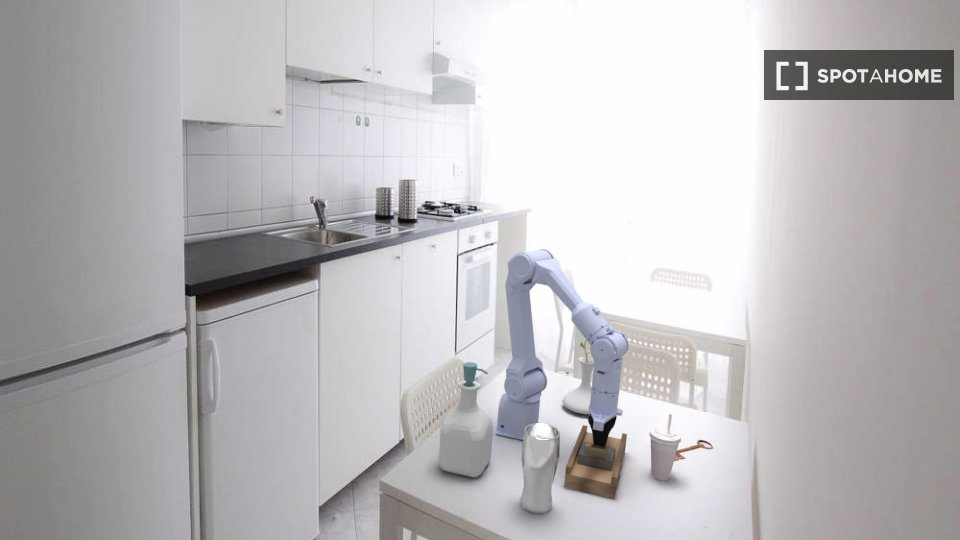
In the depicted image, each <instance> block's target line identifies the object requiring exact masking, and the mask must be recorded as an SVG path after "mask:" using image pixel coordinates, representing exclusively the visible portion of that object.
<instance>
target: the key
mask: <svg viewBox="0 0 960 540" xmlns="http://www.w3.org/2000/svg"><path fill="white" fill-rule="evenodd" d="M696 443H697V444H696V445H695V444H694V445H690V446H689V447H685V448H681V449H677V452H676V455H675V459H674V462H677V461H679V460H682V461H683V460H685V459H687V458H686V457H685V456H683V455H682V454H681V453H685V452H688V451H693V450H697V449H700V448H703V449H705V450H712V449H714V447H713V445H712V444H711V443H710V442H709V441H707V440H703V439H697V441H696ZM702 443H704V444H707V445H709V446H710V447H707V446H705V445H704V444H702Z"/></svg>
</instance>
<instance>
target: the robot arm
mask: <svg viewBox="0 0 960 540" xmlns="http://www.w3.org/2000/svg"><path fill="white" fill-rule="evenodd" d="M507 270H508V272H507V276H506V277H507V278H506V281H505V287H504V288H505V295H506V305H507V307H506V308H507V314H508V315H507V317H508V326H509V327H508V328H509V335H510V336H509V337H510V346H511V347H510V348H511V356H512V358H511V361H510V362H509V363H508V366H507V367H506V369H505V375H506V376H505V379H504V383H503V384H504V385H503V387H504V388H503V389H504V392H505V393H503V394H502V395H500V396H501V397H500V400H499V404H498V410H497V422H496V423H497V426H496V432H495V434H496V435H498V436H502V437H507V438H511V439H515V440H516V439H517V440H520V441H523V437H524V429H525V427H526V426H528V425H530V424H534V423H539V417H540V404H541V396H542V392H543V391H544V390H545V389H546V388H547V386H548V376H547V374H546V372H545V370H544V366H543V362H542V361H541V360H540V359H539V358H538V357H537V355H536V345H535V336H534V334H535V333H534V325H533V315H532V304H531V303H532V302H531V290H532V289H533V288H534V286H536V284H538V285H543V286H547V287H549V288H550V290H551V291H552V292H553V293H554V294H555V295H556V296H557V297H558V299H559V300H560V301H561V302H562V303H563V305H565V307H566V308H567V309H568V310H569V311H570V313H571V322H572V323H573V325H574V326H575V327H576V328H577V330H578V331H579V332H580V333H581V335H582V336H583V338H584V340H587V341H586V342H587V343H588V344H589V345H590V346H589V352H590V355H591V358H593V359H594V367H593V370H592V380H591V381H592V383H591V388H592V389H591V400H590V405H589V411H590V414H588V417H587V422H588V424H589V427H590V428H591V433H592V434H593V443H594V444H597V445H602V446H606V442H607V439H608V437H609V435H610V433H611V431H612V429H613V428H614V427H615V425H616V421H617V418H618V417H617V416H619V417H620V416H621V417H622V416H623V412H624V411H623V409H621V408H618V407H619V406H618V405H619V396H620V388H621V387H620V386H621V376H622V367H623V366H622V365H623V357H624V356H625V355H627V353H628V350H629V342H628V339H627V337H626V336H625V333H623V332H622V331H619V330H615V328H614V327H613V326H612V325H610V324H609V322H608V321H607V320H606V319H605V318H604V317H603V316H602V314H601V309H600V308H599V307H598V306H595V305H594V304H592V303H588V302H584V300H583V299H582V297H581V296H580V294H579V293H578V292H577V289H575V287H574V286H573V285H572V282H570V280H569V279H568V278H567V276H566V275H565V273H564V272H563V270H562V268H561V264H560V261H559V260H558V259H557V258H555V256H554V254H553V253H552V252H551V251H550V250H548V249H547V248H546V249H545V248H542V249H541V248H540V249H538V250H531V251H519V252H517V253H515V254H514V255H513V256H512V257H511V258H510V260H508V262H507Z"/></svg>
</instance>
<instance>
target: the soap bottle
mask: <svg viewBox="0 0 960 540" xmlns="http://www.w3.org/2000/svg"><path fill="white" fill-rule="evenodd" d="M462 365H463V366H462V367H463V378H464V380H461V381H459V382H457V387H458V388H459V390H460V401H459V404H457V405H456V406H455V407H453V408H452V409H451V410H450V411H448V413H447V415H446V416H445V418H444V419H443V420H442V424H441V425H440V428H439V429H440V430H439V431H440V433H439V455H438V463H439V468H441V470H443V471H444V472H448V473H451V474H452V473H453V474H457V475H461V476H465V477H469V478H470V477H471V478H477V477H478V476H480V475H481V474H482V473H483V472H484V470H485V469H486V467H487V465H488V463H490V460H491V458H492V453H493V452H492V449H493V436H494V435H493V434H494V425H493V421H492V419H491V417H490V416H489V414H488V413H487V412H486V411H485V410H483V409H482V408H481V407H480V406H479V405H478V402H477V400H478V399H477V397H478V394H477V393H478V390H480V389H481V383H480V382H478V381H476V380H475V379H476V375H477V371H479V372H482V373H484V374H485V375H488V374H489V372H488V371H486V370H484V369H483V368H478V363H476V362H471V361H469V362H468V361H467V362H464V363H463V364H462Z"/></svg>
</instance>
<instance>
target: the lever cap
mask: <svg viewBox="0 0 960 540" xmlns="http://www.w3.org/2000/svg"><path fill="white" fill-rule="evenodd" d="M615 452H616V448H611V447H607V446H602V445H597V444H592V443H588V442H583V443H582V445H581V448H580V450H579V453H578V459H577V463H579V464H583V465H588V466H592V467H597V468H601V469H606V470H610V471H612V467H613V463H614V459H615Z"/></svg>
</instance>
